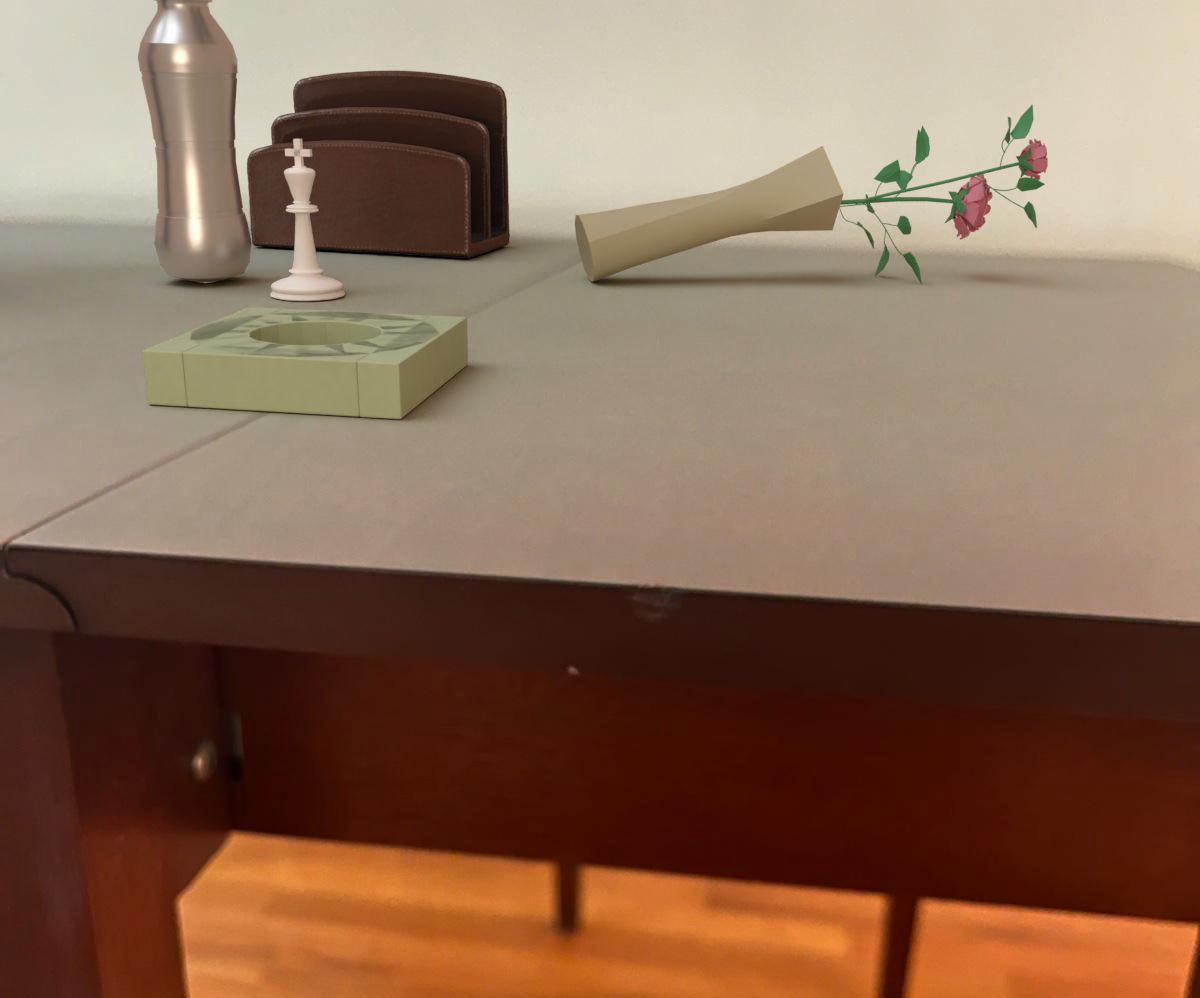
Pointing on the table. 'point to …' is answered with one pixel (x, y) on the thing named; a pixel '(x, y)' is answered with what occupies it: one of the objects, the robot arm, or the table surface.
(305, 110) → the letter holder
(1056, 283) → the table surface
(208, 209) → the metallic bottle
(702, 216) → the flower vase
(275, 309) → the green ashtray
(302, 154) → the chess piece
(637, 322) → the table surface
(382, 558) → the table surface
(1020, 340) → the table surface
